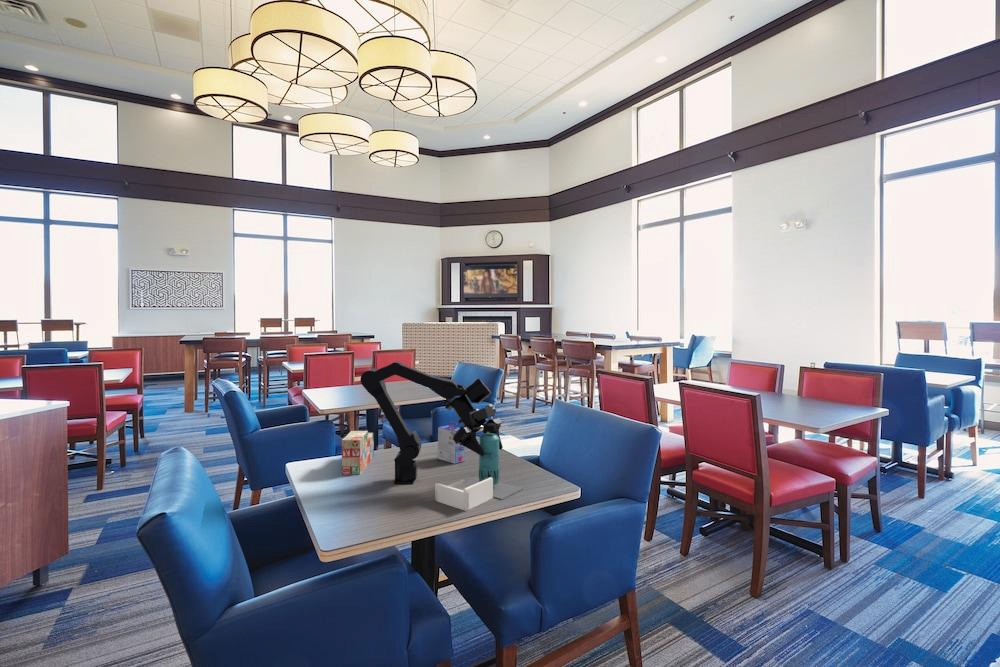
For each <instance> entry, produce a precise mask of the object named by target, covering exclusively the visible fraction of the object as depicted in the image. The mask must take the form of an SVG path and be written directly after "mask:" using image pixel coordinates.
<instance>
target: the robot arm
mask: <svg viewBox="0 0 1000 667" xmlns="http://www.w3.org/2000/svg"><path fill="white" fill-rule="evenodd" d="M393 376H398V377H399V378H403V379H406V380H408V381H410V382H413V383H415V384H417V385H421V386H423V387H425V388H428V389H430V390H431V391H433V392H434V393H435V394H436V395H438V396H440V397H441V398H443V399H445V400H446V404H445V407H444V409H446V410H447V411H451V410H453V411H454V413H455V414H456V415H457V417H458V418H459V420H458V421H457V422H458V424H459V425H461V424H463V425H462V426H460V427H458V428H459V430H458V431H457V432H456V433H455V434H454V435H453V440H454V442H455V443H456V444H459V443H460V445H463V446H465V448H467V449H469V450H470V451H472V452H474V453H475V454H477V455H478V456H479V455H481V456H484V455H485V454H484V452H483V449H482V448H481V446H480V442H479V440H478V439H477V434H479V433H481V432H482V433H483V434H485V433H493V434H496V435H497V436H498V437H499V451H501V450H502V449H503V444H502V441H501V436H500V428H501V426H502V424H503V422H502V420H501V418H500V417H495V416H496V415H495V414H496V413H497V408H495V406H494V404H492V403H490V404H488V405H485V407H483V408H481V409H479V408H478V407H477V408H475V407H474V406H473V405H472V404H471V403H473V404H478V405H479V404H480V403H481V402H483V401H484V400H485V399H487V398H488V397H489V396H490V395H491V394H492V392H491V390H490V388H489V387H488V386H487V385H486V384H485V383H484V382H483V381H482V380H481V379H480V377H477V378H476V379H475V380H474V381H473V382H472V383H470V384H468V386H466V385H463V384H458V383H457V382H456V381H455V380H454V379H450V378H445V377H441V376H440V377H439V376H434V375H431V374H429V373H426V372H423V371H421V370H418V369H416V368H413V367H411V366H408V365H406V364H403V363H402V362H400V361H394V362H392V363H390V364H388V365H386V366H383V367H381V368H377V369H376V368H370V369H368V370H366V371H364V372H363V373H362V374H361V376H360V381H359V382H360V384H361V385H362V387H363V388H364V390H366V392H367V393H368V394H370V396H372V397H373V398H374V399H375V401H376V403H377V404H378V406H379V408H380V410H381V411H382V413H383V415H384V416H385V419H386V420H387V421H388V424H389V426H390V427H391V429H392V430H393V433H394V434H395V435H396V440H397V444H398V447H399V451H398V453H397V455H396V456H395V457H394V480H393V484H407V485H410V484H411V485H412V484H414V483H415V482H416V480H417V479H418V465H417V460H415V459H416V458H417V457H418V456H419V454H420V452H421V450H422V439H421V438H420V437H419V435H418V432H417V430H416V429H415V430H413V431H411V429H410V428H408V427H407V424H406V423H405V421H404V419H403V417H402V416H401V414H400V412H399V410H398V408H397V407H396V405H395V403H394V401H393V400H392V398H391V396H390V394H389V393H388V390H387V386H386V381H385V380H386V379H388V378H391V377H393ZM491 417H492V418H491ZM486 423H494V424H496V431H494V432H485V431H483V427H484V424H486Z"/></svg>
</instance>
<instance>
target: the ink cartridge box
mask: <svg viewBox="0 0 1000 667" xmlns="http://www.w3.org/2000/svg"><path fill="white" fill-rule="evenodd" d="M458 424H459V422H458V421H456V420H451V421H450V422H449V425H444V426H438V428H437V430H438V434H437V459H438V460H440V461H444V462H447V463H451V464H454V465H455V464H459V463H463V462H465V461H466V459H465V458H466V447H465V446H463V445H460V443H459V444H456V443H455V442H454V440H453V435H454V434H455V433H456V432H457V431H458V430H459V428H460V427H457V425H458Z"/></svg>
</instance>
